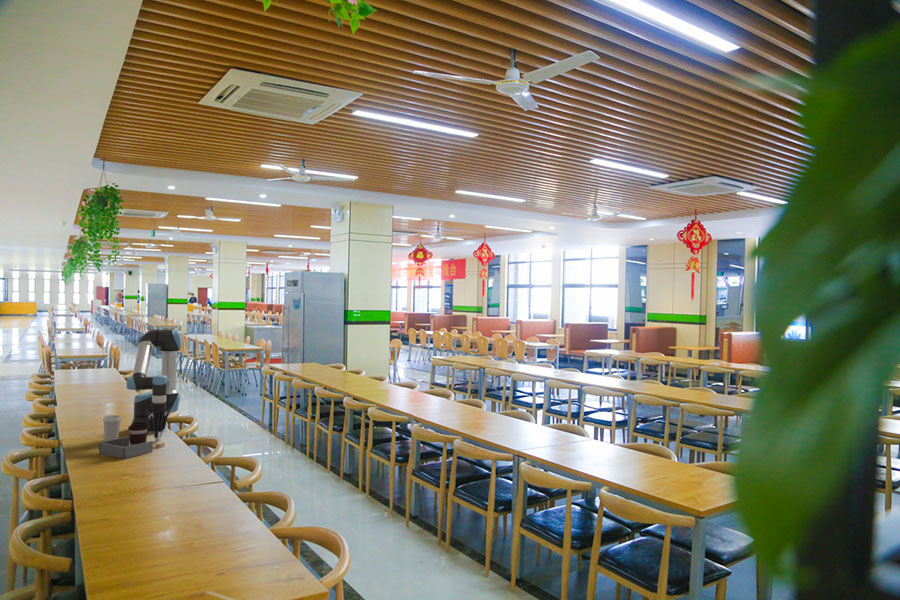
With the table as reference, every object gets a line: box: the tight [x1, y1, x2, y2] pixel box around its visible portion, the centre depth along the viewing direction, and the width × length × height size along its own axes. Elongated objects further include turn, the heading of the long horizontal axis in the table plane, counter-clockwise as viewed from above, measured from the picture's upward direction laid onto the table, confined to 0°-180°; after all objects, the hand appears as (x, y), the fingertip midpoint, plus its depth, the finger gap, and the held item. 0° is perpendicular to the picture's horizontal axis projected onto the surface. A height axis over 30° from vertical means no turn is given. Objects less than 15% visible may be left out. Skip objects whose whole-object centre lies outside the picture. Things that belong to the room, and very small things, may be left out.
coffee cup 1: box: [102, 414, 122, 442], centre depth 337 cm, size 10×10×15 cm
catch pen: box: [98, 435, 154, 460], centre depth 317 cm, size 17×20×6 cm
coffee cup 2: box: [127, 422, 148, 446], centre depth 323 cm, size 10×10×15 cm
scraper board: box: [146, 439, 165, 451], centre depth 330 cm, size 8×12×2 cm, turn 69°
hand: (157, 442), depth 335 cm, fingers closed
